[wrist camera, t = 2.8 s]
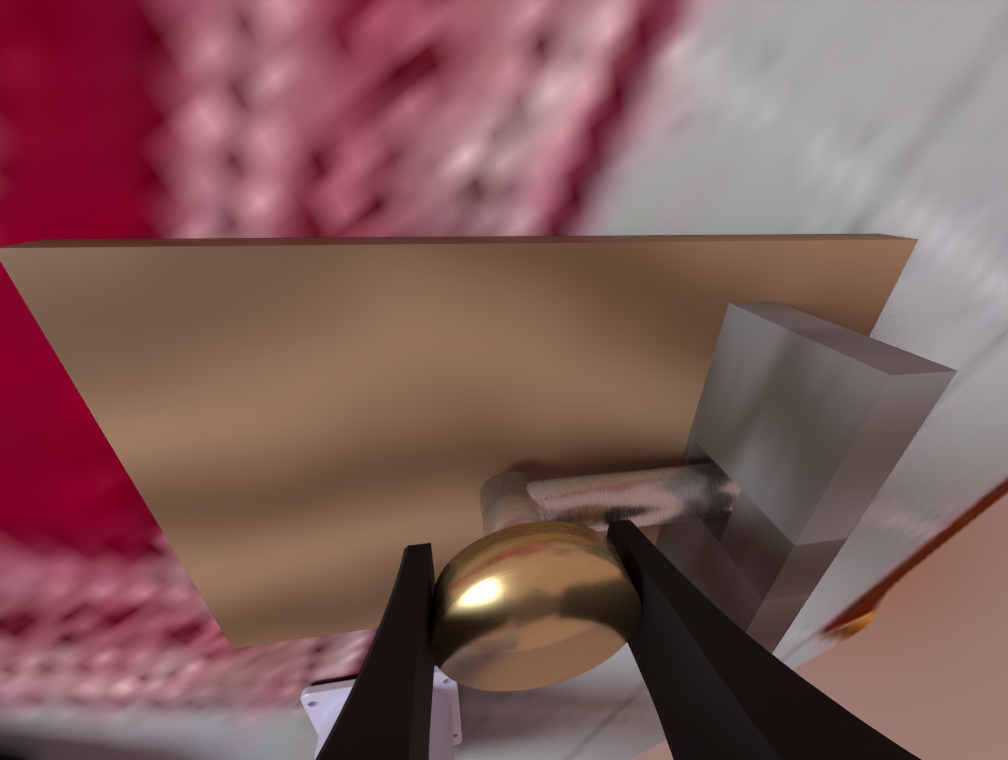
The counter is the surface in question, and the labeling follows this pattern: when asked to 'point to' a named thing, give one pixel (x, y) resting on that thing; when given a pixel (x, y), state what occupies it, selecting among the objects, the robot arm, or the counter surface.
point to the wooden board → (480, 398)
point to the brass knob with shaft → (556, 572)
